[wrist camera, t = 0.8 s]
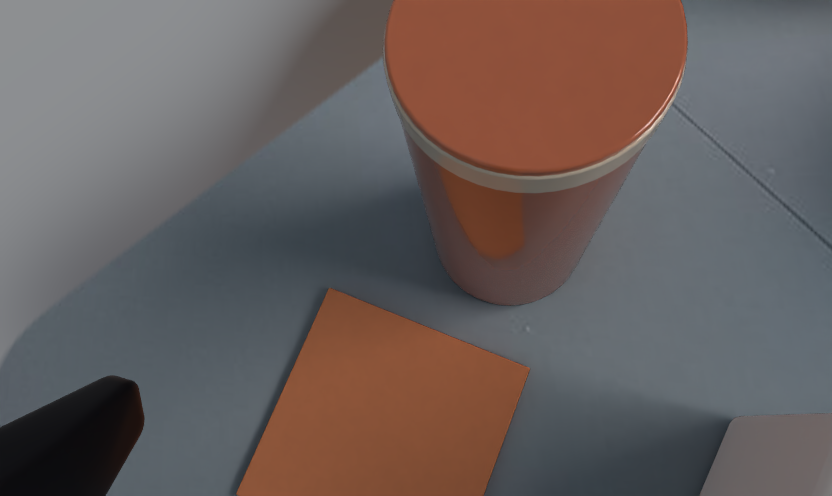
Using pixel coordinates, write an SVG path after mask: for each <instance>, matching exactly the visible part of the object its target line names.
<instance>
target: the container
mask: <svg viewBox="0 0 832 496" xmlns="http://www.w3.org/2000/svg"><path fill="white" fill-rule="evenodd" d="M699 496H832V413H819V414H791V415H762V416H739V417H736V418H734V419H733V420H732V421H731V422H730V424H729V426H728V429H727V431H726V433H725V436H724V438H723V441H722V443H721V445H720V448H719V450H718V452H717V455H716V457H715V459H714V462H713V464H712V467H711V469H710V471H709V474H708V476H707V478H706V481H705V483H704V486H703V488H702V490H701V493H700V495H699Z"/></svg>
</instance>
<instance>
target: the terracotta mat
mask: <svg viewBox="0 0 832 496" xmlns="http://www.w3.org/2000/svg"><path fill="white" fill-rule="evenodd" d="M529 371H530V368H528V367H526V366H523V365H521V364H518V363H516V362H513V361H511V360H508V359H506V358H503V357H501V356H498V355H496V354H493V353H491V352H489V351H486V350H484V349H481V348H479V347H476V346H474V345H471V344H469V343H466V342H464V341H461V340H459V339H456V338H454V337H451V336H449V335H446V334H444V333H441V332H439V331H436V330H434V329H431V328H429V327H426V326H424V325H421V324H419V323H416V322H414V321H411V320H409V319H406V318H404V317H401V316H399V315H397V314H394V313H392V312H389V311H387V310H384V309H382V308H379V307H377V306H374V305H372V304H369V303H367V302H364V301H362V300H359V299H357V298H354V297H352V296H349V295H347V294H344V293H342V292H339V291H337V290H334V289H332V288H329V289H328V291H327V293H326V296H325V298H324V300H323V302H322V305H321V307H320V309H319V311H318V313H317V316H316V318H315V320H314V322H313V324H312V327H311V329H310V331H309V333H308V336H307V338H306V340H305V342H304V344H303V347H302V349H301V351H300V353H299V355H298V358H297V360H296V362H295V364H294V367H293V369H292V371H291V373H290V375H289V378H288V380H287V382H286V384H285V386H284V389H283V391H282V393H281V395H280V398H279V400H278V402H277V404H276V406H275V409H274V411H273V413H272V415H271V417H270V420H269V422H268V424H267V426H266V429H265V431H264V433H263V435H262V437H261V440H260V442H259V444H258V446H257V448H256V451H255V453H254V455H253V457H252V460H251V462H250V464H249V466H248V468H247V471H246V473H245V475H244V477H243V479H242V482H241V484H240V486H239V488H238V490H237V493H236V494H237V495H238V496H483V495H484V493H485V490H486V487H487V485H488V482H489V479H490V476H491V474H492V471H493V468H494V466H495V463H496V460H497V457H498V455H499V452H500V449H501V447H502V444H503V441H504V438H505V436H506V433H507V430H508V428H509V425H510V422H511V419H512V417H513V414H514V411H515V409H516V406H517V403H518V401H519V398H520V395H521V392H522V390H523V387H524V384H525V382H526V379H527V376H528V373H529Z"/></svg>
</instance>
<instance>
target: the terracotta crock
mask: <svg viewBox="0 0 832 496" xmlns="http://www.w3.org/2000/svg"><path fill="white" fill-rule="evenodd" d="M687 46H688V37H687V24H686V19H685V14H684V9H683V5H682V3H681V0H393V3H392V5H391V8H390V10H389V14H388V19H387V23H386V28H385V32H384V42H383V60H384V69H385V74H386V79H387V83H388V87H389V90H390V94H391V97H392V100H393V103H394V106H395V109H396V111H397V114H398V116H399V118H400V120H401V124H402V127H403V131H404V135H405V138H406V142H407V145H408V149H409V153H410V156H411V160H412V163H413V167H414V170H415V174H416V178H417V181H418V185H419V188H420V192H421V196H422V199H423V203H424V206H425V210H426V213H427V217H428V221H429V224H430V228H431V231H432V235H433V239H434V242H435V246H436V249H437V253H438V256H439V258H440V261H441V263H442V265H443V267H444V269H445V271H446V272H447V273H448V275H449V276H450V278H451V279H452V280H453V281H454V282H455V283H456V284H457V285H458V286H459V287H460V288H462V289H463V290H464V291H465V292H467V293H469V294H470V295H472V296H474V297H476V298H478V299H480V300H483V301H486V302H489V303H493V304H499V305H521V304H526V303H531V302H534V301H537V300H539V299H542V298H544V297H546V296H547V295H549V294H551V293H552V292H554V291H555V290H557V289H558V288H559V287H560V286H561V285H562V284H563V283H564V282H565V281H566V280H567V279H568V278H569V276H570V275H571V274H572V272H573V270H574V269H575V267H576V266H577V264H578V262H579V260H580V259H581V257H582V255H583V253H584V252H585V250H586V248H587V246H588V245H589V243H590V241H591V239H592V238H593V236H594V234H595V232H596V231H597V229H598V227H599V225H600V224H601V222H602V220H603V218H604V217H605V215H606V213H607V211H608V210H609V208H610V206H611V204H612V203H613V201H614V199H615V197H616V196H617V194H618V192H619V190H620V189H621V187H622V185H623V183H624V182H625V180H626V178H627V176H628V175H629V173H630V171H631V169H632V168H633V166H634V164H635V162H636V161H637V159H638V157H639V155H640V154H641V152H642V150H643V148H644V147H645V145H646V143H647V142H648V140H649V139H650V138H651V137H652V136H653V134H654V133H655V131H656V130H657V128H658V127H659V125H660V124H661V122H662V120H663V119H664V117H665V115H666V114H667V112H668V110H669V108H670V107H671V105H672V103H673V102H674V99H675V97H676V95H677V92H678V90H679V88H680V86H681V82H682V79H683V75H684V71H685V68H686V59H687V50H688V48H687Z"/></svg>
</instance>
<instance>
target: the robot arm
mask: <svg viewBox="0 0 832 496" xmlns="http://www.w3.org/2000/svg"><path fill="white" fill-rule="evenodd" d="M143 426H144V413H143V408H142V402H141V397H140V392H139V388H138V385H137V384H136V383H135V382H134V381H132V380H128V379H125V378H121V377H118V376H106V377H104V378H101V379H99V380H97V381H95V382H93V383H91V384H89V385H87V386H85V387H83V388H81V389H78V390H76V391H74V392H72V393H70V394H68V395H66V396H64V397H62V398H60V399H58V400H56V401H54V402H52V403H50V404H47V405H45V406H43V407H41V408H39V409H37V410H35V411H33V412H31V413H29V414H27V415H25V416H23V417H21V418H18V419H16V420H14V421H12V422H10V423H8V424H6V425H4V426H2V427H0V496H106V494H107V492H108V490H109V489H110V487H111V485H112V484H113V482H114V480H115V478H116V477H117V475H118V473H119V471H120V470H121V468H122V466H123V464H124V463H125V461H126V459H127V457H128V456H129V454H130V452H131V450H132V449H133V447H134V445H135V443H136V442H137V440H138V438H139V436H140V435H141V432H142V430H143Z"/></svg>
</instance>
